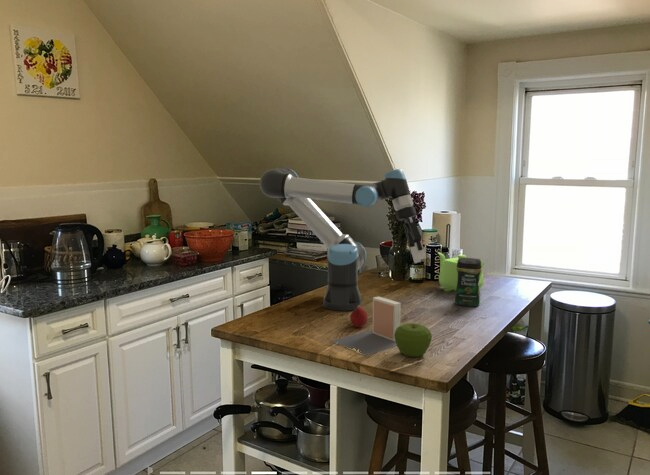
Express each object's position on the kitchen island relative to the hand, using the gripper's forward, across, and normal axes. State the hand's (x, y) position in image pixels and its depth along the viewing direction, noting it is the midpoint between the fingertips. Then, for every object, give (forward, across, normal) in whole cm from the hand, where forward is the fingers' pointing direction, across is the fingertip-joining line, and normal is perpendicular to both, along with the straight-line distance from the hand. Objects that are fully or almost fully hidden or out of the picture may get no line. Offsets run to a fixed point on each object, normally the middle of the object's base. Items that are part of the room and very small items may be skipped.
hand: (420, 260), depth 208 cm
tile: (+22, -30, +22) cm, 44 cm away
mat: (+23, -33, +26) cm, 48 cm away
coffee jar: (+21, +9, -14) cm, 27 cm away
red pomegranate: (+18, -21, +30) cm, 41 cm away
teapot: (+15, +31, -19) cm, 39 cm away
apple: (+29, -44, +17) cm, 56 cm away
